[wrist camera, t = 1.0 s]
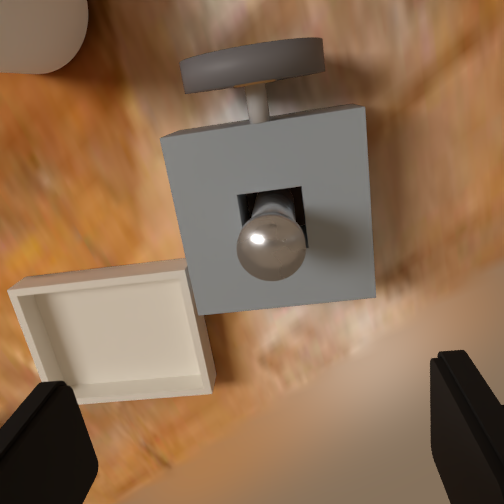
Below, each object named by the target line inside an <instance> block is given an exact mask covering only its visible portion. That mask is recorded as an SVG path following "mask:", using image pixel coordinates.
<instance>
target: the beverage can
mask: <svg viewBox="0 0 504 504" xmlns="http://www.w3.org/2000/svg"><path fill="white" fill-rule="evenodd" d="M87 25H88V4H87V0H0V72H4V73H22V74H45V73H50V72H53V71H56V70H58V69H60V68H62V67H63V66H65V65H66V64H67V63H69V62H70V61H71V60H72V59H73V58H74V56H75V55H76V54H77V52H78V51H79V49H80V47H81V45H82V43H83V41H84V38H85V35H86V31H87Z"/></svg>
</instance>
